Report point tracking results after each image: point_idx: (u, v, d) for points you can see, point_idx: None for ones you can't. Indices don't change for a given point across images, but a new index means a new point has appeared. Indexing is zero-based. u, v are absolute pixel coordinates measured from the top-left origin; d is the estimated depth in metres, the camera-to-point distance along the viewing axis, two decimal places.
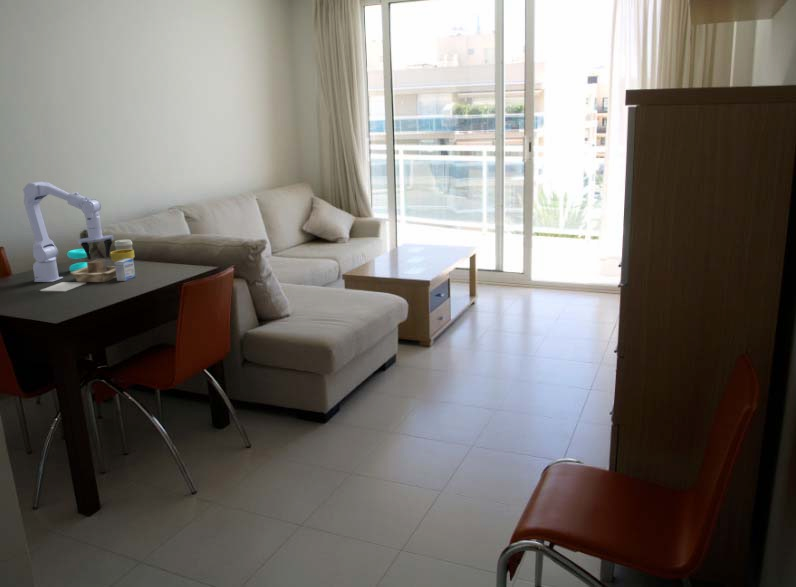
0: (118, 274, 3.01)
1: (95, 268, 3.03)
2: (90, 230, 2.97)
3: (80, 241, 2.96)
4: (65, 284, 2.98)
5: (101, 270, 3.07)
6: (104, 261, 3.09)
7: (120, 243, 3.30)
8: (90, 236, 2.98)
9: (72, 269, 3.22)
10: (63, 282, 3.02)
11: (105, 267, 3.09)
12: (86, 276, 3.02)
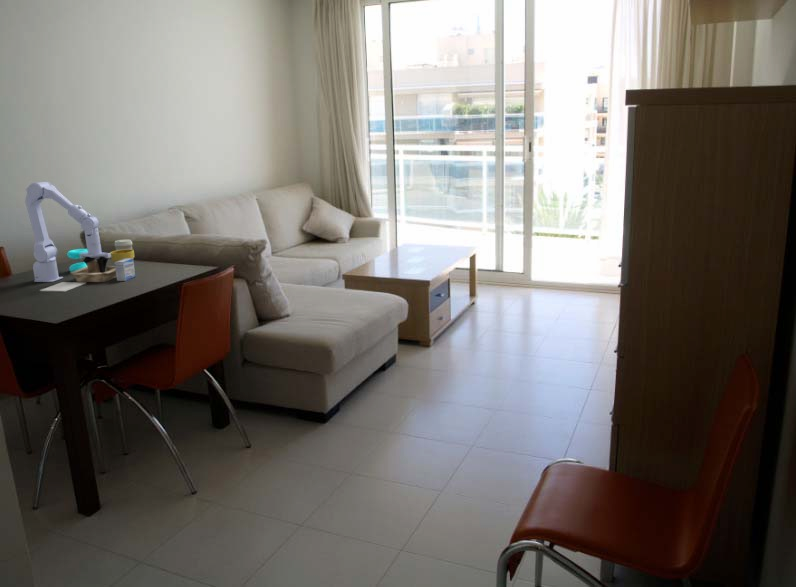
0: (118, 274, 3.01)
1: (95, 268, 3.03)
2: None
3: (80, 255, 3.06)
4: (65, 284, 2.98)
5: None
6: None
7: (120, 243, 3.30)
8: None
9: (72, 269, 3.22)
10: (63, 282, 3.02)
11: None
12: (86, 276, 3.02)
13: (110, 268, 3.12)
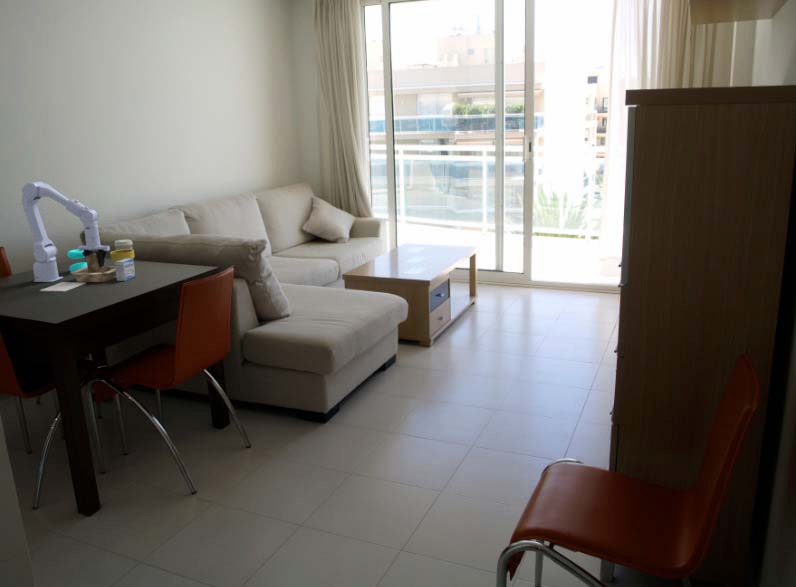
0: (118, 274, 3.01)
1: (94, 261, 3.03)
2: None
3: (79, 248, 3.05)
4: (65, 284, 2.98)
5: None
6: None
7: (120, 243, 3.30)
8: (86, 244, 3.03)
9: (72, 269, 3.22)
10: (63, 282, 3.02)
11: (104, 261, 3.09)
12: (86, 276, 3.02)
13: (110, 268, 3.12)
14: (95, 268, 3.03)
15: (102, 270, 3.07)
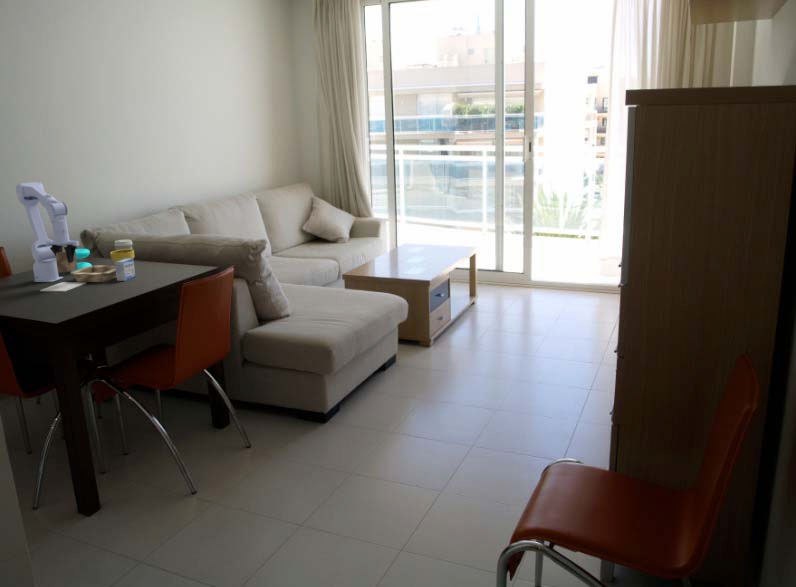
0: (118, 274, 3.01)
1: (64, 258, 2.91)
2: None
3: (47, 243, 2.92)
4: (65, 284, 2.98)
5: None
6: None
7: (120, 243, 3.30)
8: None
9: None
10: (63, 282, 3.02)
11: (75, 259, 2.97)
12: (86, 276, 3.02)
13: (110, 268, 3.12)
14: (65, 265, 2.91)
15: (72, 268, 2.95)
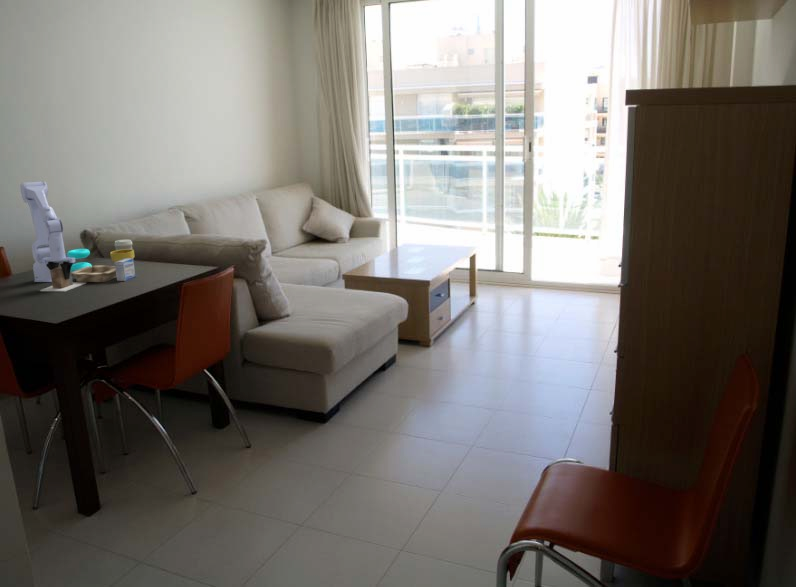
0: (118, 274, 3.01)
1: (58, 275, 2.89)
2: (49, 250, 2.89)
3: (43, 260, 2.92)
4: None
5: None
6: None
7: (120, 243, 3.30)
8: (50, 256, 2.90)
9: (72, 269, 3.22)
10: None
11: (70, 274, 2.95)
12: (86, 276, 3.02)
13: (110, 268, 3.12)
14: (60, 282, 2.90)
15: (68, 284, 2.94)
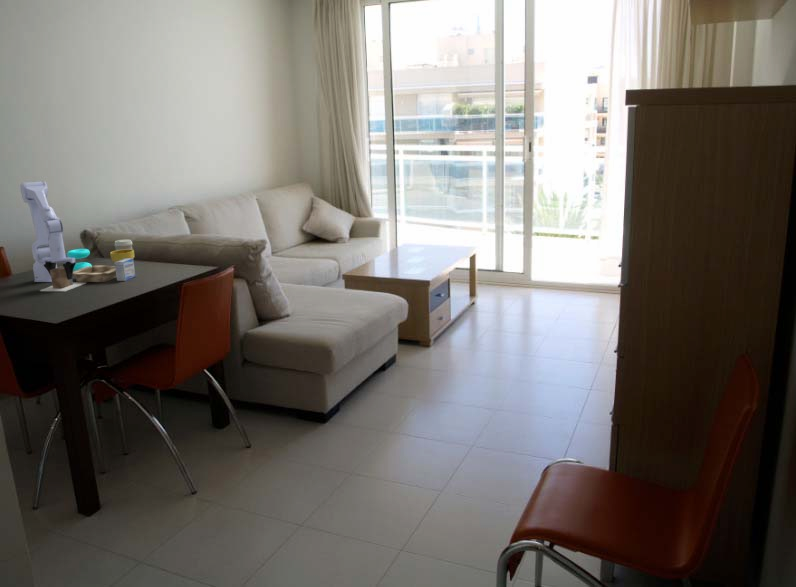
0: (118, 274, 3.01)
1: (58, 275, 2.89)
2: (49, 250, 2.89)
3: (43, 260, 2.92)
4: None
5: (65, 277, 2.92)
6: None
7: (120, 243, 3.30)
8: (50, 256, 2.90)
9: None
10: None
11: None
12: (86, 276, 3.02)
13: (110, 268, 3.12)
14: (60, 282, 2.90)
15: (68, 284, 2.94)
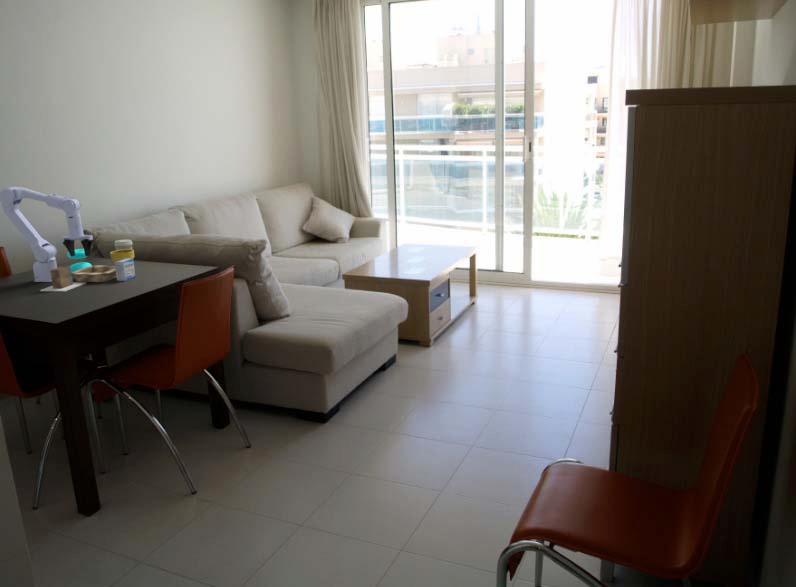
0: (118, 274, 3.01)
1: (58, 275, 2.89)
2: (68, 228, 3.03)
3: (62, 238, 3.06)
4: None
5: (65, 277, 2.92)
6: (68, 268, 2.94)
7: (120, 243, 3.30)
8: (69, 234, 3.04)
9: (72, 269, 3.22)
10: None
11: (70, 274, 2.95)
12: (86, 276, 3.02)
13: (110, 268, 3.12)
14: (60, 282, 2.90)
15: (68, 284, 2.94)
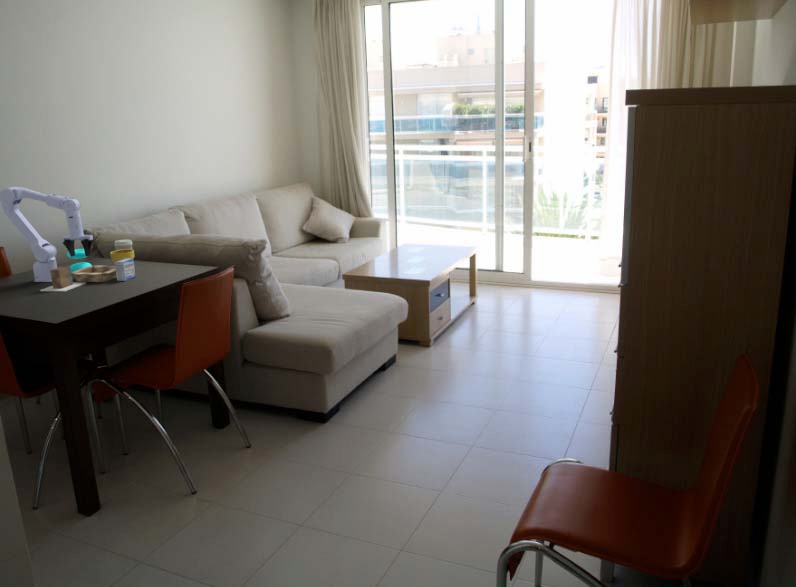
0: (118, 274, 3.01)
1: (58, 275, 2.89)
2: (68, 228, 3.03)
3: (62, 238, 3.06)
4: None
5: (65, 277, 2.92)
6: (68, 268, 2.94)
7: (120, 243, 3.30)
8: None
9: (72, 269, 3.22)
10: None
11: (70, 274, 2.95)
12: (86, 276, 3.02)
13: (110, 268, 3.12)
14: (60, 282, 2.90)
15: (68, 284, 2.94)
